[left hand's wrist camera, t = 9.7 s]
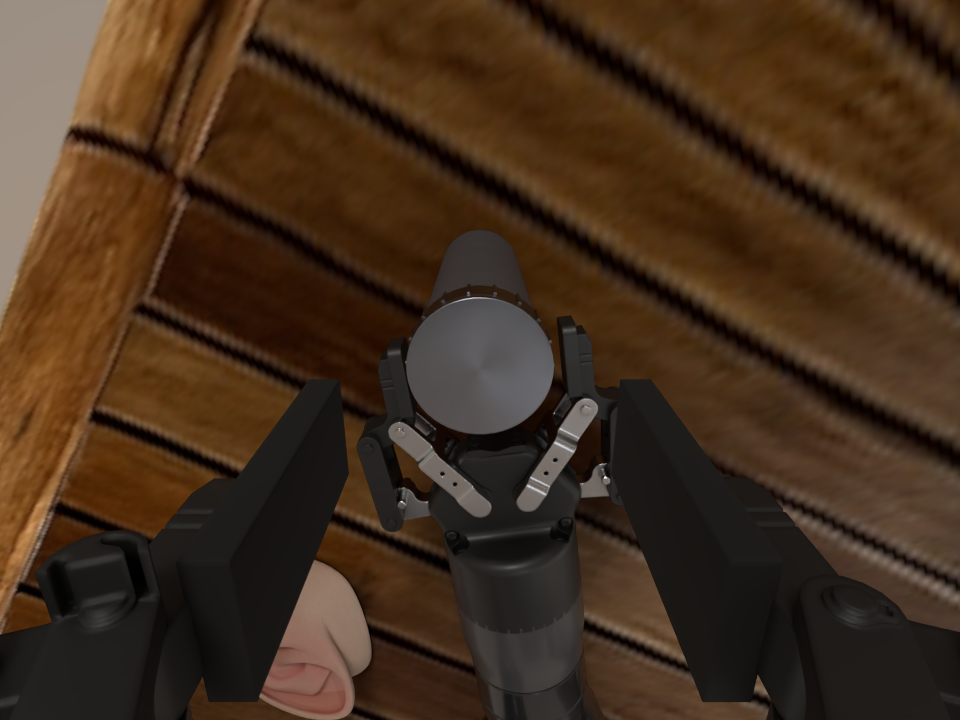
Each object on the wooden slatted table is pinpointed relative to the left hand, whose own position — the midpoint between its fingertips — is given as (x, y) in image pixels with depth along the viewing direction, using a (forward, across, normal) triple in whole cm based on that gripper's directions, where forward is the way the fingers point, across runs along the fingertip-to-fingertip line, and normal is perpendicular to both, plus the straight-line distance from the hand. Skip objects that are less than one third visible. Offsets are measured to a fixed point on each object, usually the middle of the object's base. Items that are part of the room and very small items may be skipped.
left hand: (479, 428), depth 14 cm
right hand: (+14, 0, +2) cm, 14 cm away
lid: (+4, 0, 0) cm, 4 cm away
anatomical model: (+20, +14, +27) cm, 37 cm away
